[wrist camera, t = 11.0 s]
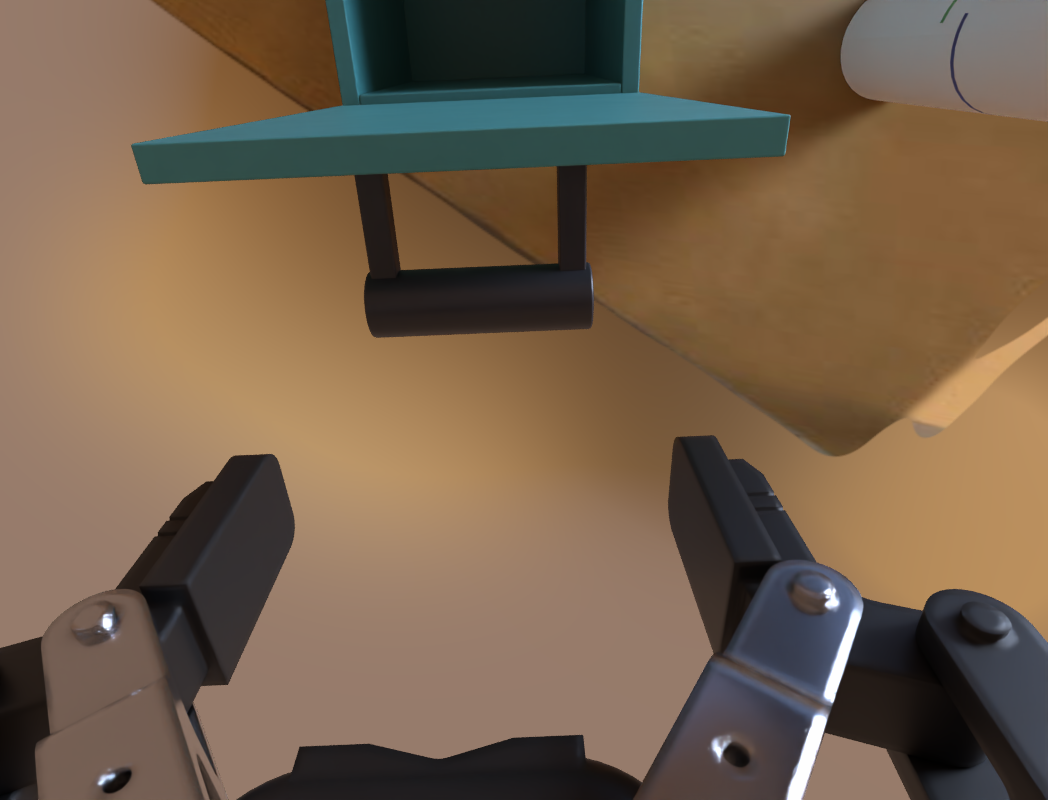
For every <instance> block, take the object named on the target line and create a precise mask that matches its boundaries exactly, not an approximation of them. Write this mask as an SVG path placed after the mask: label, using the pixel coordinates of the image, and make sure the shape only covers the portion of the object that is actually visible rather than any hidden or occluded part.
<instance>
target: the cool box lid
mask: <svg viewBox="0 0 1048 800" xmlns="http://www.w3.org/2000/svg"><path fill="white" fill-rule="evenodd" d="M789 124H790V115H788V114H781V113H774V112H768V111H761V110H754V109H747V108H741V107H734V106H727V105H721V104H714V103H707V102H700V101H694V100H687V99H680V98H673V97H667V96H660V95H653V94H647V93H617V94H595V95H573V96H550V97H528V98H506V99H483V100H461V101H439V102H416V103H394V104H372V105H349V106H337V107H332V108H326V109H321V110H316V111H310V112H305V113H299V114H294V115H288V116H283V117H277V118H272V119H266V120H261V121H255V122H250V123H244V124H239V125H234V126H228V127H222V128H217V129H211V130H206V131H200V132H195V133H190V134H184V135H178V136H173V137H167V138H162V139H156V140H151V141H145V142H140V143H134V144H132V145H131V147H132V150H133V153H134V156H135V160H136V163H137V166H138V169H139V173H140V176H141V179H142V182H143V183H144V184H162V183H185V182H208V181H231V180H254V179H275V178H298V177H322V176H344V175H355V181H356V187H357V194H358V200H359V206H360V213H361V219H362V225H363V231H364V238H365V244H366V250H367V256H368V263H369V269H370V272H369V273H368V274H367V277H366V281H365V289H364V304H365V313H366V318H367V323H368V326H369V329H370V332H371V334H372V335H373V336H374V337H378V338H379V337H404V336H428V335H452V334H476V333H500V332H524V331H548V330H571V329H589V328H591V326H592V322H593V310H594V292H593V277H592V269H591V266H590V263H588V262H586V214H587V165H596V164H619V163H642V162H665V161H688V160H710V159H733V158H756V157H779V156H784V155H785V151H786V144H787V138H788V131H789ZM551 166H557V211H558V264H535V265H512V266H490V267H465V268H441V269H418V270H400V262H399V254H398V247H397V240H396V232H395V225H394V218H393V210H392V203H391V196H390V188H389V181H388V173H389V174H391V173H414V172H437V171H459V170H482V169H505V168H528V167H551Z"/></svg>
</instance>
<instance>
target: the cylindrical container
mask: <svg viewBox="0 0 1048 800" xmlns="http://www.w3.org/2000/svg"><path fill="white" fill-rule="evenodd" d="M841 67H842V72H843V75H844V77H845V80H846V82H847V83H848V85H849V86H850V87H851V89H852V90H853V91H855V92H856V93H857V94H858V95H860V96H862V97H865V98H867V99H872V100H878V101H886V102H894V103H902V104H910V105H918V106H926V107H934V108H942V109H950V110H958V111H966V112H974V113H982V114H990V115H998V116H1006V117H1014V118H1022V119H1030V120H1038V121H1046V122H1048V0H867V1H866V2H865V3H864V4H863V5H862V6H861V7H860V8H859V9H858V11H857V12H856V14H855V15H854V16H853V18H852V20H851V22H850V23H849V25H848V27H847V30H846V32H845V35H844V38H843V42H842V47H841Z"/></svg>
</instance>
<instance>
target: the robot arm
mask: <svg viewBox="0 0 1048 800" xmlns="http://www.w3.org/2000/svg"><path fill="white" fill-rule="evenodd" d="M668 510H669V519H670V525H671V529H672V532H673V535H674V538H675V541H676V544H677V547H678V550H679V553H680V556H681V559H682V562H683V565H684V567H685V571H686V573H687V576H688V579H689V582H690V585H691V588H692V591H693V594H694V597H695V600H696V603H697V606H698V609H699V612H700V614H701V617H702V620H703V623H704V626H705V629H706V632H707V635H708V638H709V641H710V644H711V647H712V649H713V653H714V654H713V655H712V656H711V658H710V659H709V661H708V663H707V665H706V666H705V668H704V670H703V672H702V674H701V675H700V677H699V679H698V681H697V683H696V685H695V686H694V688H693V690H692V692H691V694H690V696H689V698H688V699H687V701H686V703H685V705H684V707H683V709H682V710H681V712H680V714H679V716H678V718H677V720H676V722H675V723H674V725H673V727H672V729H671V731H670V733H669V734H668V736H667V738H666V740H665V742H664V743H663V745H662V747H661V749H660V751H659V753H658V754H657V756H656V758H655V760H654V762H653V764H652V766H651V767H650V769H649V771H648V773H647V775H646V776H645V778H644V780H643V782H640V781H639V780H637V779H636V778H634V777H633V776H631V775H629V774H627V773H625V772H623V771H621V770H619V769H617V768H615V767H612V766H610V765H607V764H604V763H602V762H599V761H594V760H591V759H587V758H585V749H584V739H583V735H569V736H545V737H522V738H511V739H508V740H504V741H501V742H498V743H494V744H491V745H488V746H484V747H481V748H478V749H475V750H471V751H468V752H465V753H461V754H458V755H454V756H451V757H448V758H443V759H433V758H428V757H424V756H419V755H415V754H411V753H406V752H402V751H397V750H394V749H389V748H385V747H380V746H376V745H371V744H355V745H333V746H332V745H330V746H306V747H299V751H298V754H297V757H296V760H295V764H294V767H293V770H292V772H291V773H287V774H284V775H282V776H279V777H277V778H275V779H272V780H270V781H267V782H265V783H264V784H262V785H260V786H258V787H256V788H254V789H252V790H250V791H249V792H247V793H246V794H244V795H243V796H241V797H240V798H238V799H237V800H803V798H804V796H805V792H806V789H807V786H808V783H809V780H810V777H811V774H812V770H813V768H814V764H815V761H816V758H817V755H818V752H819V749H820V746H821V743H822V740H823V737H824V733H828V734H832V735H836V736H840V737H843V738H847V739H851V740H855V741H859V742H863V743H866V744H870V745H874V746H878V747H881V748H886V749H887V752H888V754H889V756H890V758H891V760H892V762H893V764H894V766H895V768H896V770H897V772H898V774H899V777H900V779H901V780H902V783H903V785H904V787H905V789H906V791H907V793H908V795H909V797H910V799H911V800H1048V643H1047V642H1046V640H1045V639H1044V638H1043V637H1042V636H1041V635H1040V633H1039V632H1038V631H1037V630H1036V629H1035V627H1034V626H1033V625H1032V624H1031V623H1030V622H1029V621H1028V620H1027V619H1026V618H1025V617H1024V616H1022V615H1021V614H1020V613H1019V612H1017V611H1016V610H1014V609H1013V608H1011V607H1009V606H1008V605H1006V604H1004V603H1003V602H1001V601H998V600H996V599H994V598H992V597H989V596H987V595H983V594H981V593H977V592H973V591H968V590H961V589H949V590H942V591H939V592H936V593H934V594H933V595H932V596H930V597H929V598H928V600H927V601H926V604H925V607H924V609H923V611H921V610H916V609H911V608H906V607H901V606H896V605H891V604H886V603H880V602H877V601H872V600H869V599H866V598H863V597H861V595H860V593H859V591H858V590H857V588H856V587H855V586H854V585H853V583H852V582H851V581H849V580H848V579H847V578H846V577H845V576H843V575H842V574H841V573H839V572H837V571H836V570H834V569H832V568H830V567H827V566H825V565H823V564H819V563H817V562H816V561H815V559H814V557H813V556H812V554H811V552H810V551H809V549H808V548H807V546H806V544H805V542H804V541H803V539H802V538H801V536H800V534H799V533H798V531H797V529H796V528H795V526H794V524H793V523H792V521H791V519H790V518H789V516H788V514H787V513H786V511H785V510H783V506H782V505H781V503H780V501H779V500H778V498H777V496H776V495H775V496H774V492H773V490H772V488H771V487H770V485H769V483H768V482H767V480H766V478H765V477H764V475H763V474H762V473H761V472H760V471H758V470H757V469H755V468H754V467H753V466H752V465H750V464H749V463H748V462H746V461H745V460H744V459H732V460H728V459H727V457H726V455H725V453H724V451H723V449H722V447H721V446H720V444H719V442H718V440H717V438H716V437H715V436H712V435H710V436H688V437H676V438H675V440H674V444H673V453H672V465H671V475H670V486H669V498H668ZM294 529H295V524H294V515H293V511H292V507H291V504H290V500H289V497H288V494H287V490H286V486H285V483H284V479H283V476H282V472H281V469H280V465H279V462H278V460H277V458H276V457H275V456H274V455H273V454H264V455H263V454H261V455H239V456H233V457H231V458H230V459H229V461H228V462H227V463H226V465H225V466H224V468H223V469H222V470H221V472H220V473H219V475H218V476H217V478H216V479H215V480H214V481H210V482H205V483H204V484H202V485H201V486H200V487H198V488H197V489H196V490H194V491H193V492H192V493H190V494H189V495H188V496H186V497H185V498H184V499H183V500H182V501H181V502H180V504H179V505H178V506H177V508H176V509H175V510H174V512H173V513H172V514H171V516H170V520H169V521H166V522H165V524H164V525H163V526H162V528H161V529H160V530H159V532H158V536H157V537H154V538H153V540H152V541H151V542H150V544H149V545H148V546H147V548H146V549H145V550H144V551H143V553H142V554H141V555H140V557H139V558H138V560H137V561H136V562H135V564H134V565H133V566H132V567H131V569H130V570H129V571H128V573H127V574H126V575H125V577H124V578H123V579H122V581H121V582H120V584H119V585H118V586H117V587H116V589H115V590H109V591H105V592H102V593H98V594H96V595H93V596H90V597H88V598H86V599H84V600H82V601H80V602H78V603H77V604H75V605H73V606H72V607H70V608H69V609H67V610H66V611H64V612H63V613H62V614H61V615H60V616H59V617H57V618H56V619H55V620H54V621H53V622H52V624H51V625H50V626H49V627H48V629H47V630H46V632H45V634H44V635H43V637H39V638H35V639H32V640H28V641H25V642H21V643H17V644H13V645H10V646H6V647H3V648H0V800H38V799H39V800H229V799H228V797H227V794H226V791H225V788H224V786H223V783H222V780H221V777H220V774H219V771H218V768H217V766H216V763H215V760H214V757H213V754H212V751H211V748H210V745H209V742H208V740H207V737H206V734H205V731H204V728H203V725H202V723H201V719H200V717H199V714H198V711H197V709H196V707H195V704H194V702H193V701H194V699H195V697H196V694H197V693H198V691H199V689H200V687H201V686H208V685H209V686H210V685H228V683H229V681H230V679H231V677H232V674H233V672H234V670H235V668H236V666H237V664H238V662H239V659H240V657H241V655H242V653H243V651H244V648H245V646H246V644H247V642H248V640H249V637H250V635H251V633H252V631H253V629H254V627H255V624H256V622H257V620H258V618H259V615H260V613H261V611H262V609H263V607H264V605H265V602H266V600H267V598H268V596H269V593H270V591H271V589H272V587H273V585H274V583H275V580H276V578H277V576H278V574H279V572H280V569H281V567H282V565H283V563H284V561H285V559H286V556H287V554H288V552H289V550H290V548H291V545H292V542H293V538H294Z"/></svg>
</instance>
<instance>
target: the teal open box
mask: <svg viewBox="0 0 1048 800" xmlns="http://www.w3.org/2000/svg"><path fill="white" fill-rule="evenodd" d="M325 1H326V7H327V13H328V19H329V25H330V31H331V37H332V43H333V50H334V56H335V62H336V68H337V74H338V80H339V86H340V92H341V98H342V104H343V106H349V105H372V104H394V103H416V102H439V101H461V100H483V99H506V98H528V97H550V96H573V95H595V94H617V93H639V76H640V54H641V32H642V10H643V0H325Z"/></svg>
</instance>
